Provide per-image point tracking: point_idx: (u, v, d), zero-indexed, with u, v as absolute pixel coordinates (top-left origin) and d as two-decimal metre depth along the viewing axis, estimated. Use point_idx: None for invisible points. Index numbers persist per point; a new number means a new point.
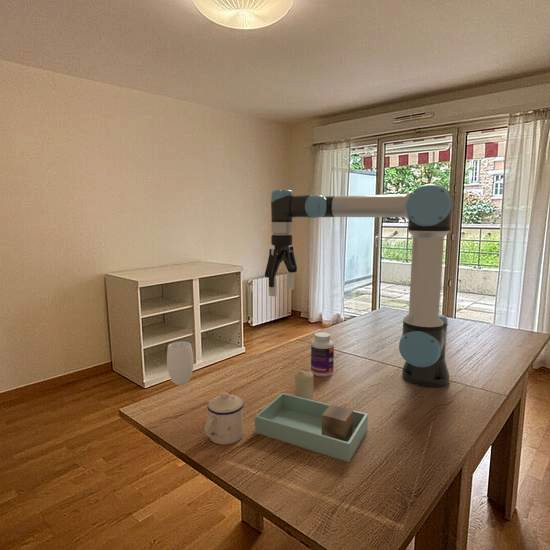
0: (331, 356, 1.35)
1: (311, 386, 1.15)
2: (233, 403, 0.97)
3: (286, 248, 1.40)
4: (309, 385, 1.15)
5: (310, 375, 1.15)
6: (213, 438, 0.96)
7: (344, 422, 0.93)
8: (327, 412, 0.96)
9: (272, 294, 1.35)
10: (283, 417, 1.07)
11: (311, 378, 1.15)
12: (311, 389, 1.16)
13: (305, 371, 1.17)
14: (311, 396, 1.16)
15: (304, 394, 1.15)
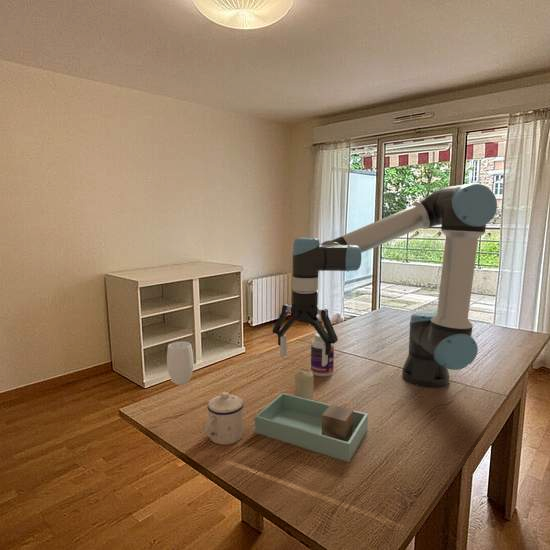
0: (331, 356, 1.35)
1: (311, 386, 1.15)
2: (233, 403, 0.97)
3: (307, 309, 1.12)
4: (309, 385, 1.15)
5: (310, 375, 1.15)
6: (213, 438, 0.96)
7: (344, 422, 0.93)
8: (327, 412, 0.96)
9: None
10: (283, 417, 1.07)
11: (311, 378, 1.15)
12: (311, 389, 1.16)
13: (305, 371, 1.17)
14: (311, 396, 1.16)
15: (304, 394, 1.15)
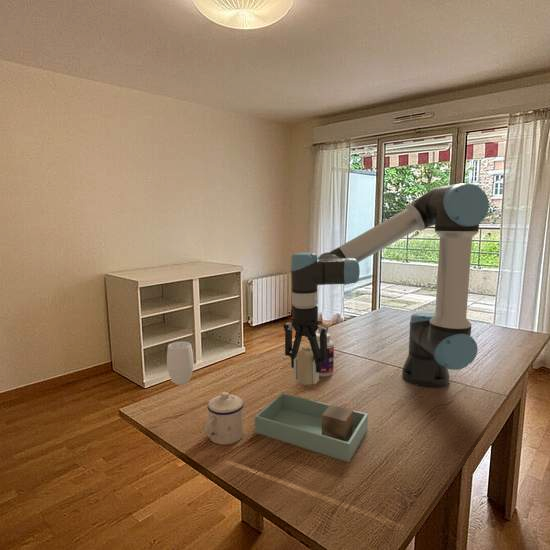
0: (331, 356, 1.35)
1: None
2: (233, 403, 0.97)
3: (309, 322, 1.12)
4: (311, 364, 1.14)
5: (312, 354, 1.14)
6: (213, 438, 0.96)
7: (344, 422, 0.93)
8: (327, 412, 0.96)
9: None
10: (283, 417, 1.07)
11: (313, 357, 1.14)
12: None
13: (307, 351, 1.16)
14: None
15: (307, 373, 1.14)
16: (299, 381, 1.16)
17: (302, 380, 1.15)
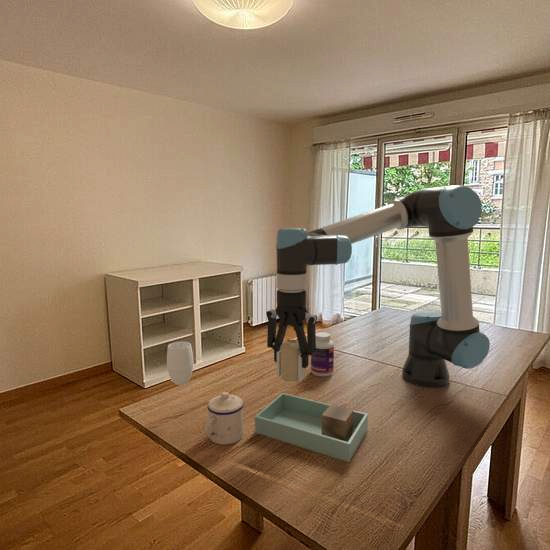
0: (331, 356, 1.35)
1: None
2: (233, 403, 0.97)
3: (296, 309, 0.97)
4: (296, 357, 0.98)
5: (298, 346, 0.99)
6: (213, 438, 0.96)
7: (344, 422, 0.93)
8: (327, 412, 0.96)
9: None
10: (283, 417, 1.07)
11: (299, 350, 0.98)
12: None
13: (292, 342, 1.01)
14: None
15: (291, 368, 0.98)
16: (282, 377, 1.00)
17: (285, 376, 0.99)
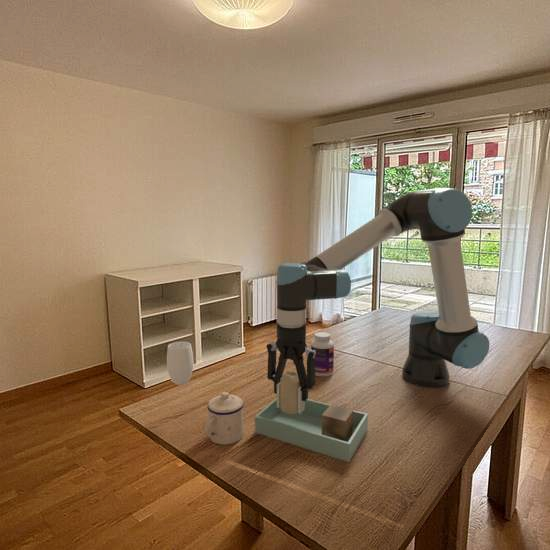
0: (331, 356, 1.35)
1: None
2: (233, 403, 0.97)
3: (296, 343, 0.98)
4: (296, 391, 1.00)
5: (297, 380, 1.00)
6: (213, 438, 0.96)
7: (344, 422, 0.93)
8: (327, 412, 0.96)
9: None
10: (283, 417, 1.07)
11: (298, 383, 1.00)
12: None
13: (292, 375, 1.02)
14: None
15: (291, 401, 1.00)
16: (282, 409, 1.01)
17: (285, 409, 1.00)
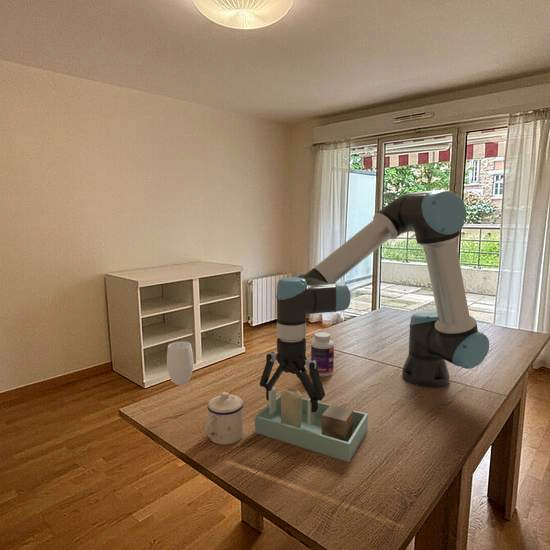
0: (331, 356, 1.35)
1: (299, 408, 1.01)
2: (233, 403, 0.97)
3: (295, 358, 0.99)
4: (296, 407, 1.00)
5: (298, 396, 1.01)
6: (213, 438, 0.96)
7: (344, 422, 0.93)
8: (327, 412, 0.96)
9: None
10: None
11: (299, 399, 1.01)
12: (299, 412, 1.01)
13: (292, 391, 1.03)
14: (299, 420, 1.02)
15: (291, 418, 1.00)
16: None
17: None
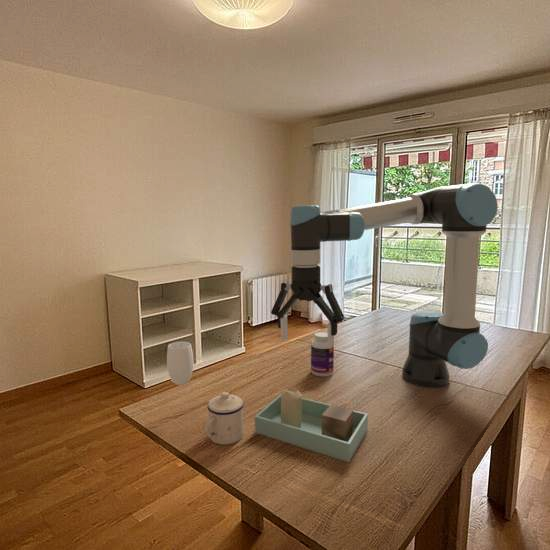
0: (331, 356, 1.35)
1: (299, 408, 1.01)
2: (233, 403, 0.97)
3: (309, 285, 1.00)
4: (296, 407, 1.00)
5: (298, 396, 1.01)
6: (213, 438, 0.96)
7: (344, 422, 0.93)
8: (327, 412, 0.96)
9: None
10: None
11: (299, 399, 1.01)
12: (299, 412, 1.01)
13: (292, 391, 1.03)
14: (299, 420, 1.02)
15: (291, 418, 1.00)
16: None
17: None
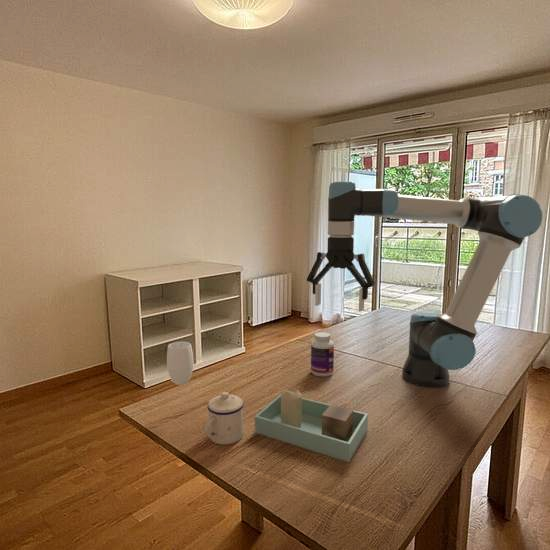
0: (331, 356, 1.35)
1: (299, 408, 1.01)
2: (233, 403, 0.97)
3: (344, 254, 1.12)
4: (296, 407, 1.00)
5: (298, 396, 1.01)
6: (213, 438, 0.96)
7: (344, 422, 0.93)
8: (327, 412, 0.96)
9: None
10: None
11: (299, 399, 1.01)
12: (299, 412, 1.01)
13: (292, 391, 1.03)
14: (299, 420, 1.02)
15: (291, 418, 1.00)
16: None
17: None
